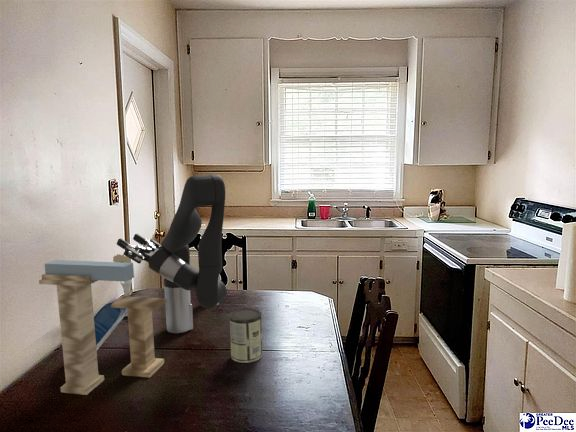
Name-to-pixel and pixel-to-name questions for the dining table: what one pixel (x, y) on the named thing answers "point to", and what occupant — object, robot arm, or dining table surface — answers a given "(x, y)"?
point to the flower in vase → (126, 284)
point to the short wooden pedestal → (141, 335)
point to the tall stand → (76, 332)
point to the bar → (92, 269)
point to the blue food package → (108, 320)
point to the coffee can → (245, 335)
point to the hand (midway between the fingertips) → (126, 238)
